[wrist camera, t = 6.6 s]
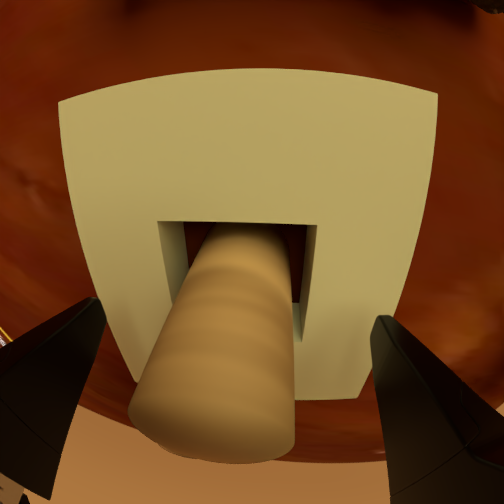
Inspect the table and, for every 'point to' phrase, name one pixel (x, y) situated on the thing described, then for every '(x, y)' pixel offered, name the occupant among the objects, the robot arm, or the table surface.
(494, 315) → the table surface
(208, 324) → the long pin
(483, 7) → the bolt
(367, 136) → the board
